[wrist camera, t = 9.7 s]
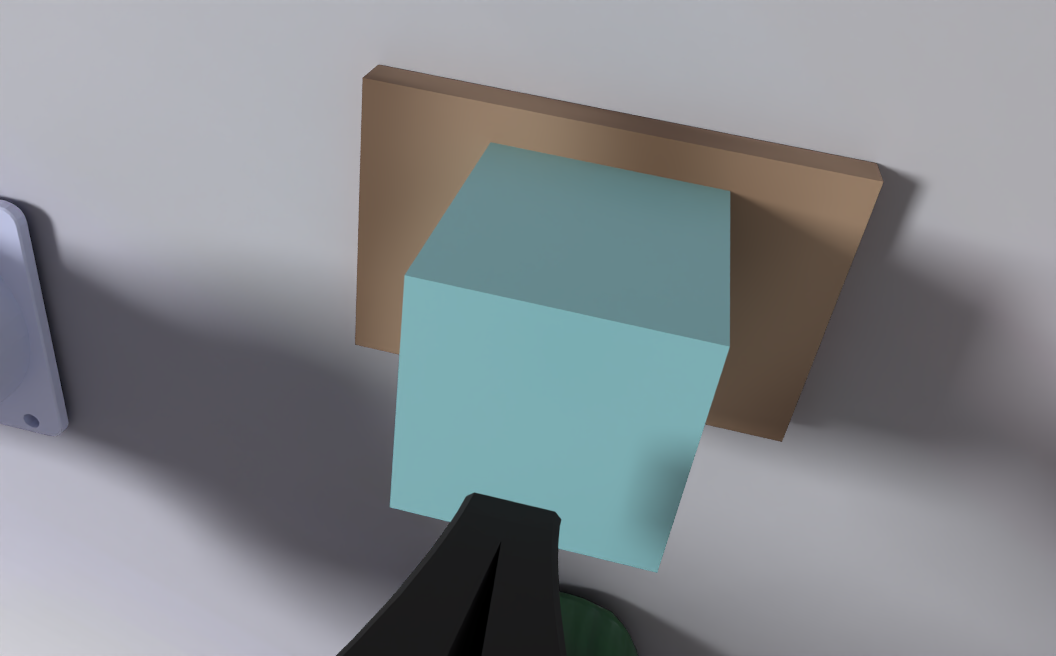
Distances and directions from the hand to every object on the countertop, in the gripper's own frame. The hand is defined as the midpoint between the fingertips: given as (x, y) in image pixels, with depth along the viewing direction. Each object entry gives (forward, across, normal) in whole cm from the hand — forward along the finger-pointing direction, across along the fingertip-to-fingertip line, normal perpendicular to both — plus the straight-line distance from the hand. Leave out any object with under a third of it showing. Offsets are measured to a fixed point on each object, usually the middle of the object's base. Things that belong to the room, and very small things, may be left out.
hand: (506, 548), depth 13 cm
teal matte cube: (+9, 0, 0) cm, 9 cm away
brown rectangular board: (+10, 0, 0) cm, 10 cm away
